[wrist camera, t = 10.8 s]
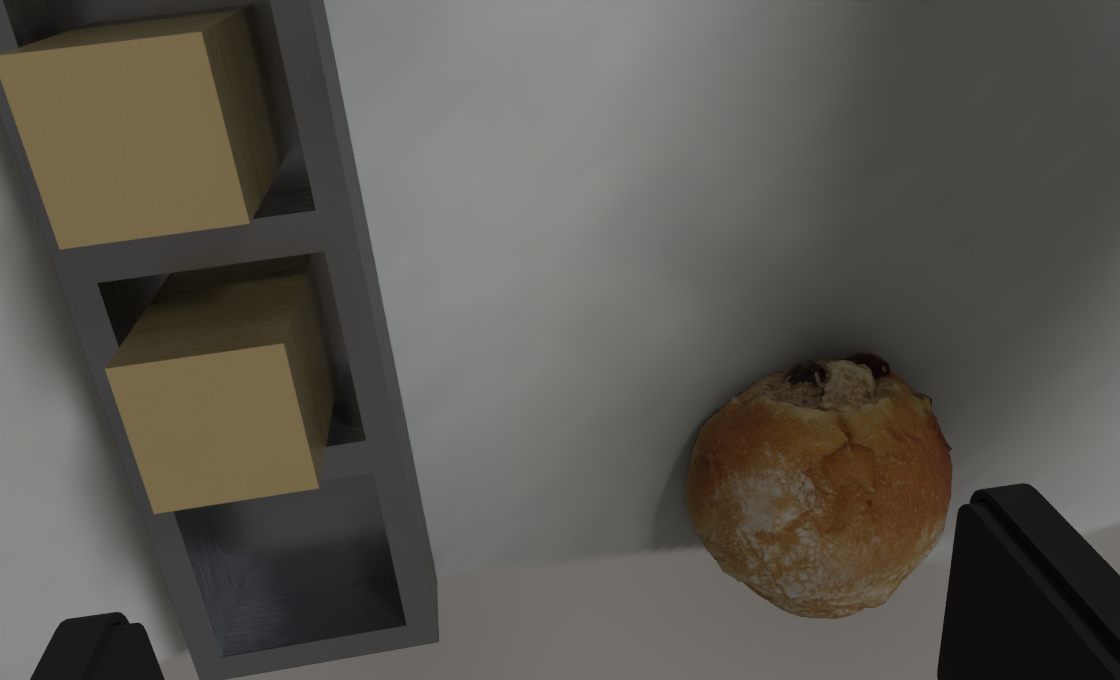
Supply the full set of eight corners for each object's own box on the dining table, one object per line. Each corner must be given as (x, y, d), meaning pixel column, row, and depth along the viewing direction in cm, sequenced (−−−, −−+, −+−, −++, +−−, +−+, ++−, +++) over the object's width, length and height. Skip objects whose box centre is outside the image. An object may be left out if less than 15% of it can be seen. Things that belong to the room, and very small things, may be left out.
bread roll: (636, 424, 40) (625, 593, 34) (809, 285, 33) (830, 466, 28) (808, 514, 43) (824, 682, 38) (996, 403, 37) (1049, 587, 31)
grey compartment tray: (2, -45, 26) (-55, -40, 23) (307, -79, 27) (293, -78, 24) (219, 617, 36) (201, 683, 33) (437, 579, 37) (438, 642, 34)
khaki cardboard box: (92, 22, 27) (-8, 56, 21) (251, 4, 27) (201, 31, 21) (137, 175, 29) (59, 249, 22) (286, 156, 29) (249, 223, 23)
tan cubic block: (169, 273, 30) (104, 369, 24) (311, 254, 31) (283, 343, 24) (205, 396, 32) (153, 514, 26) (338, 376, 32) (318, 488, 26)
